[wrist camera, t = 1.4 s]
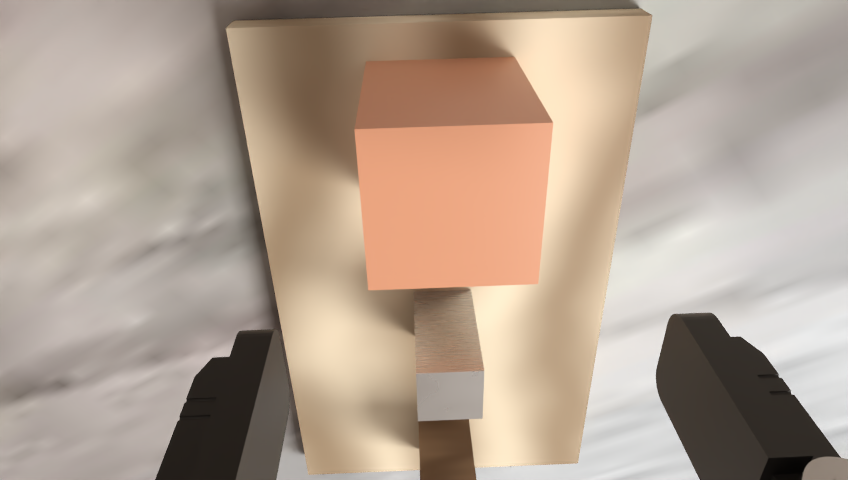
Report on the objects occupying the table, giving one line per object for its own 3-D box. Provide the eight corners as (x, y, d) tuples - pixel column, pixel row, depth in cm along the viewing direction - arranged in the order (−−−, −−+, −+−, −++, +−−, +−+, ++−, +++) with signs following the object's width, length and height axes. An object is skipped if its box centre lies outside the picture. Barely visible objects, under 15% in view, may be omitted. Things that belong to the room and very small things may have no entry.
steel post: (471, 289, 28) (484, 370, 23) (469, 333, 29) (482, 418, 25) (413, 291, 28) (415, 373, 23) (415, 336, 29) (418, 421, 25)
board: (641, 8, 23) (652, 15, 22) (572, 446, 35) (577, 463, 34) (233, 20, 22) (225, 28, 21) (311, 456, 35) (308, 474, 34)
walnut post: (468, 413, 32) (479, 502, 28) (467, 447, 33) (477, 537, 29) (418, 415, 32) (421, 505, 28) (419, 449, 33) (422, 539, 29)
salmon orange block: (514, 56, 22) (553, 122, 17) (507, 189, 25) (538, 284, 20) (365, 61, 22) (354, 129, 17) (375, 194, 25) (368, 290, 19)
